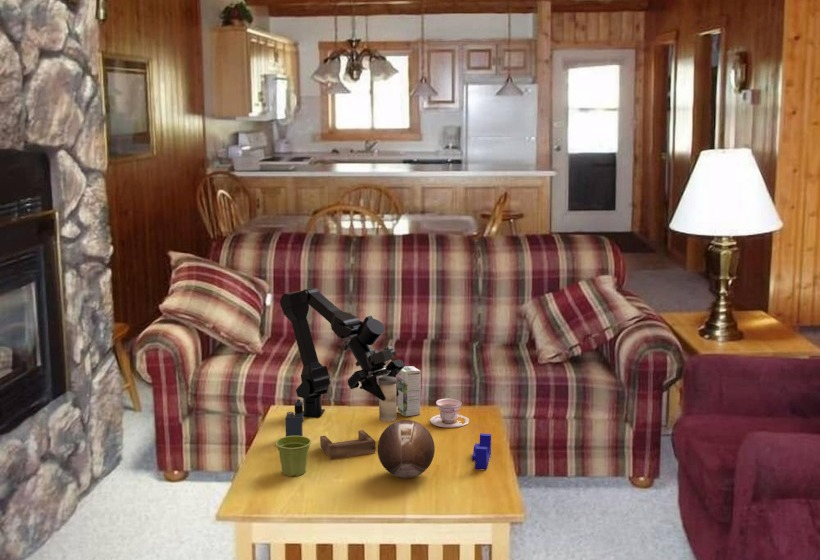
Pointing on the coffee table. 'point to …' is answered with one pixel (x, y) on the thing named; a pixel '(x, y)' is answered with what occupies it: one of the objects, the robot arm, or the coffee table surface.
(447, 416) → the teacup
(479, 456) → the blue stepped block
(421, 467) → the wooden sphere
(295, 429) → the vaping device
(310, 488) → the coffee table surface
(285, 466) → the plant pot
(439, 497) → the coffee table surface
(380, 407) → the lidded tumbler
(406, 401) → the syrup box
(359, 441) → the cradle
